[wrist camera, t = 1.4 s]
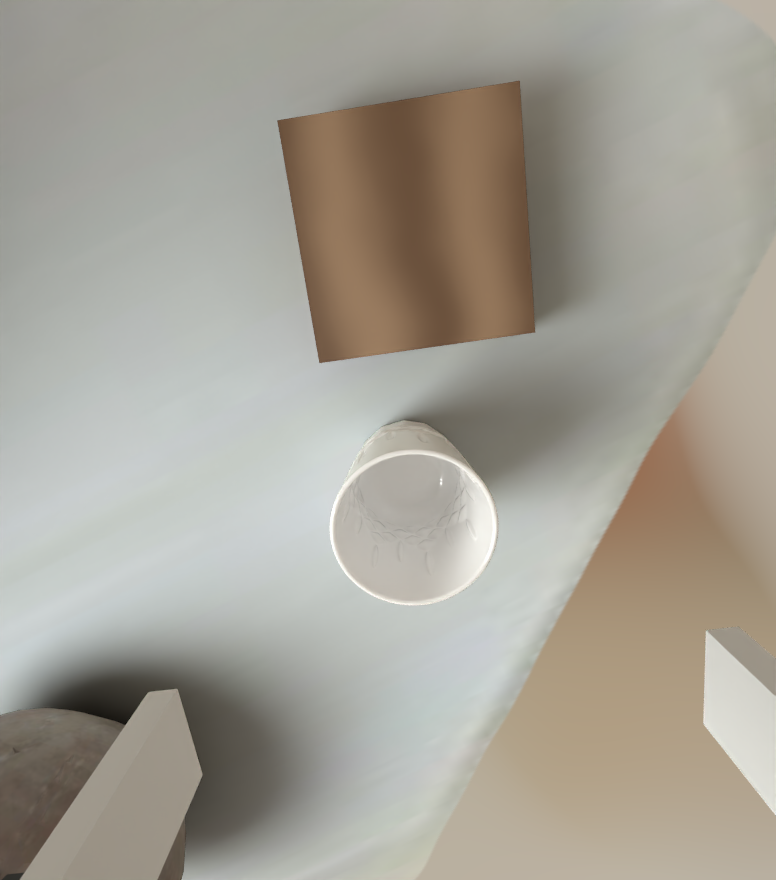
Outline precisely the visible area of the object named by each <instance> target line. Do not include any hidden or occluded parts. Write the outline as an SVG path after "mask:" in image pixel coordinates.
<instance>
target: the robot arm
mask: <svg viewBox="0 0 776 880" xmlns="http://www.w3.org/2000/svg"><path fill="white" fill-rule="evenodd" d="M705 651H706V652H705V686H704V723H703V724H704V725H705V726H706V728H707V729H708V730H709V732H710V733H711V734H712V735H713V737H714V738H715V739H716V740H717V742H718V743H719V744H720V746H721V747H722V748H723V749H724V751H725V752H726V753H727V754H728V756H729V757H730V758H731V759H732V761H733V762H734V763H735V764H736V766H737V767H738V768H739V770H741V772H742V773H743V774H744V776H745V777H746V778H747V780H748V781H749V782H750V783H751V785H752V786H753V787H754V788H755V790H756V791H757V792H758V794H759V795H760V796H761V797H762V799H763V800H764V801H765V802H766V804H767V805H768V806H769V807H770V809H771V810H772V811H773V812H774V814H775V815H776V658H775V657H774V656H773V655H771V654H770V653H769V652H768V651H766V650H765V649H764V648H763V647H762V646H761V645H760V644H758V643H757V642H756V641H755V640H754V639H753V638H751V637H750V636H749V635H748V634H747V633H745V632H744V631H743V630H742V629H741V628H740V627H731V628H722V629H712V630H706V648H705ZM202 776H203V774H202V770H201V767H200V764H199V760H198V757H197V753H196V750H195V747H194V743H193V740H192V736H191V733H190V730H189V726H188V723H187V719H186V716H185V713H184V709H183V706H182V702H181V699H180V696H179V692H178V689H170V690H161V691H152V692H148V693H147V695H146V696H145V698H144V699H143V700H142V702H141V703H140V705H139V706H138V708H137V709H136V711H135V712H134V714H133V715H132V716H131V718H130V719H129V721H128V722H127V724H126V725H125V727H124V728H123V730H122V731H121V733H120V734H119V735H118V737H117V738H116V740H115V741H114V743H113V744H112V746H111V747H110V749H109V750H108V752H107V753H106V754H105V756H104V757H103V759H102V760H101V762H100V763H99V765H98V766H97V768H96V769H95V771H94V772H93V773H92V775H91V776H90V778H89V779H88V781H87V782H86V784H85V785H84V787H83V788H82V790H81V791H80V792H79V794H78V795H77V797H76V798H75V800H74V801H73V803H72V804H71V806H70V807H69V808H68V810H67V811H66V813H65V814H64V816H63V817H62V819H61V820H60V822H59V823H58V825H57V826H56V827H55V829H54V830H53V832H52V833H51V835H50V836H49V838H48V839H47V841H46V842H45V844H44V845H43V846H42V848H41V849H40V851H39V852H38V854H37V855H36V857H35V858H34V860H33V861H32V863H31V864H30V865H29V867H28V868H27V870H26V871H25V873H16V874H7V875H6V876H5V877H4V878H3V879H2V880H158V877H159V875H160V873H161V870H162V868H163V866H164V863H165V861H166V859H167V856H168V854H169V852H170V849H171V847H172V845H173V843H174V840H175V838H176V836H177V833H178V831H179V829H180V826H181V824H182V822H183V819H184V817H185V815H186V813H187V810H188V808H189V806H190V803H191V801H192V799H193V796H194V794H195V792H196V789H197V787H198V785H199V782H200V780H201V778H202Z"/></svg>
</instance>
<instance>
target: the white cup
mask: <svg viewBox="0 0 776 880" xmlns="http://www.w3.org/2000/svg"><path fill="white" fill-rule="evenodd" d="M330 538H331V543H332V547H333V551H334V554H335V556H336V558H337V560H338V562H339V564H340V566H341V568H342V569H343V571H344V572H345V573H346V574H347V576H348V577H349V578H350V579H351V580H352V581H353V582H354V583H355V584H356V585H357V586H359V587H360V588H361V589H363V590H364V591H366V592H367V593H369V594H371V595H372V596H374V597H377V598H379V599H381V600H384V601H387V602H391V603H395V604H401V605H425V604H431V603H436V602H439V601H442V600H445V599H448V598H450V597H452V596H454V595H456V594H458V593H460V592H461V591H463V590H464V589H466V588H467V587H468V586H470V585H471V584H472V583H473V582H474V581H475V580H476V579H477V578H478V577H479V576H480V575H481V574H482V572H483V571H484V570H485V568H486V567H487V565H488V563H489V562H490V560H491V558H492V555H493V553H494V550H495V547H496V543H497V538H498V514H497V509H496V506H495V503H494V500H493V497H492V495H491V493H490V491H489V489H488V488H487V486H486V485H485V483H484V482H483V481H482V479H481V478H480V477H479V476H478V474H477V473H476V472H475V471H474V469H473V468H472V467H471V465H470V464H469V463H468V462H467V460H466V459H465V458H464V457H463V455H462V454H461V453H460V452H459V451H458V450H457V449H456V448H455V447H454V445H453V444H452V443H450V442H449V441H448V440H447V439H446V438H445V436H444V435H442V434H441V433H439V432H438V431H436V430H435V429H433V428H432V427H430V426H429V425H427V424H426V423H419V422H413V421H406V420H402V421H399V422H395V423H392V424H389V425H385V426H382V427H381V428H380V429H378V430H377V431H376V432H375V433H374V434H373V435H372V436H371V437H370V438H369V439H367V440H366V441H365V443H364V445H363V447H362V449H361V450H360V451H359V453H358V454H357V456H356V458H355V460H354V462H353V463H352V465H351V467H350V469H349V472H348V474H347V476H346V478H345V480H344V483H343V485H342V487H341V489H340V491H339V493H338V495H337V497H336V500H335V502H334V505H333V508H332V513H331V518H330Z"/></svg>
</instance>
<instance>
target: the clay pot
mask: <svg viewBox="0 0 776 880" xmlns="http://www.w3.org/2000/svg"><path fill="white" fill-rule="evenodd" d="M124 727H125V725H123V724H121V723H119V722H117V721H114V720H110V719H106V718H102V717H98V716H94V715H90V714H87V713H84V712H77V711H72V710H64V709H54V708H38V709H25V710H17V711H14V712H10V713H6V714H2V715H0V880H2V879H3V878H4V877H5V876H6V875H7V874H16V873H25V871H26V870H27V868H28V867H29V865H30V864H31V863H32V861H33V860H34V858H35V857H36V855H37V854H38V852H39V851H40V849H41V848H42V846H43V845H44V844H45V842H46V841H47V839H48V838H49V836H50V835H51V833H52V832H53V830H54V829H55V827H56V826H57V825H58V823H59V822H60V820H61V819H62V817H63V816H64V814H65V813H66V811H67V810H68V808H69V807H70V806H71V804H72V803H73V801H74V800H75V798H76V797H77V795H78V794H79V792H80V791H81V790H82V788H83V787H84V785H85V784H86V782H87V781H88V779H89V778H90V776H91V775H92V773H93V772H94V771H95V769H96V768H97V766H98V765H99V763H100V762H101V760H102V759H103V757H104V756H105V754H106V753H107V752H108V750H109V749H110V747H111V746H112V744H113V743H114V741H115V740H116V738H117V737H118V735H119V734H120V733H121V731H122V730H123V728H124ZM185 840H186V828H185V819H183V822H182V824H181V826H180V829H179V831H178V833H177V836H176V838H175V840H174V843H173V845H172V847H171V849H170V852H169V854H168V856H167V859H166V861H165V863H164V866H163V868H162V870H161V873H160V875H159V877H158V880H181V879H182V875H183V870H184V857H185Z"/></svg>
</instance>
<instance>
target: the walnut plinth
mask: <svg viewBox="0 0 776 880" xmlns="http://www.w3.org/2000/svg"><path fill="white" fill-rule="evenodd" d="M277 121H278V127H279V132H280V138H281V144H282V150H283V155H284V161H285V167H286V173H287V179H288V184H289V190H290V196H291V202H292V207H293V213H294V219H295V225H296V230H297V236H298V242H299V248H300V254H301V259H302V265H303V271H304V277H305V282H306V288H307V294H308V300H309V305H310V311H311V317H312V323H313V328H314V334H315V340H316V346H317V352H318V357H319V363H323V362H330V361H337V360H344V359H351V358H358V357H365V356H372V355H379V354H386V353H393V352H400V351H407V350H414V349H421V348H428V347H435V346H442V345H449V344H456V343H463V342H470V341H478V340H485V339H492V338H499V337H506V336H513V335H520V334H527V333H534V332H535V322H534V306H533V290H532V273H531V257H530V241H529V225H528V209H527V192H526V176H525V160H524V144H523V128H522V111H521V95H520V81H515V82H509V83H503V84H497V85H491V86H485V87H479V88H473V89H467V90H461V91H454V92H448V93H442V94H436V95H430V96H424V97H418V98H412V99H406V100H399V101H393V102H387V103H381V104H375V105H369V106H363V107H357V108H351V109H345V110H338V111H332V112H326V113H320V114H314V115H308V116H302V117H296V118H290V119H283V120H277Z"/></svg>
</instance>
